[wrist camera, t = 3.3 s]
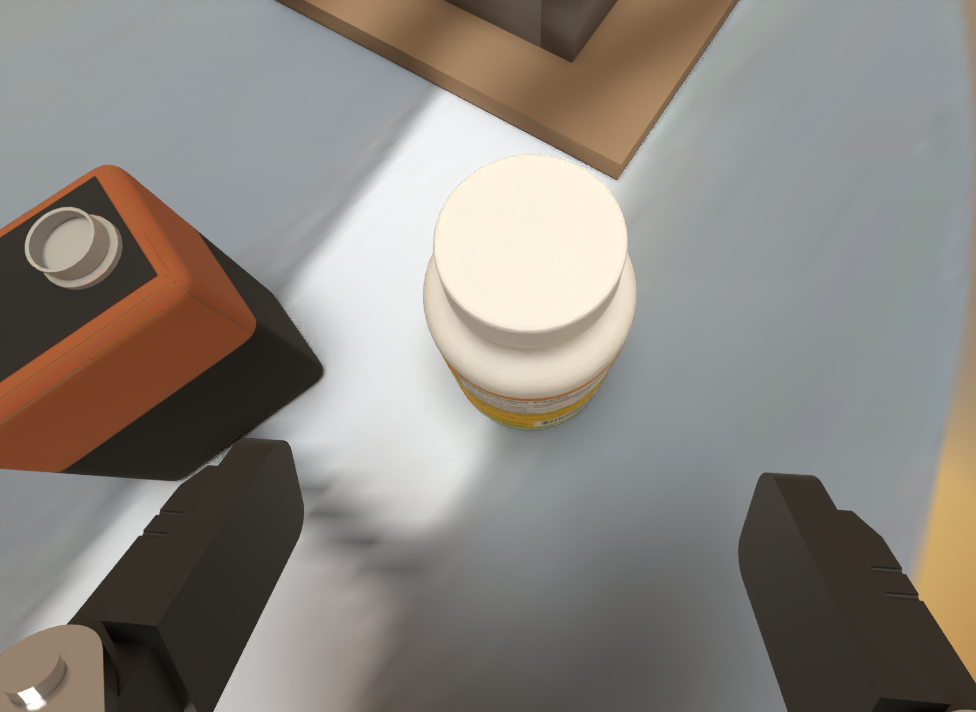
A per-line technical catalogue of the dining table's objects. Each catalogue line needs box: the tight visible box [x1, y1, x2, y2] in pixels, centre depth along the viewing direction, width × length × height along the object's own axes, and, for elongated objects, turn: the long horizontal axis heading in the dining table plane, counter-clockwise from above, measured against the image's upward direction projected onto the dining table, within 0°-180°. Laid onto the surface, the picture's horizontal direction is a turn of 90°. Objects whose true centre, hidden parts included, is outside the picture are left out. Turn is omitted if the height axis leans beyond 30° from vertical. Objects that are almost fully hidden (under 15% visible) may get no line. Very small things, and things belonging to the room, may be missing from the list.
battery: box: [0, 165, 322, 481], centre depth 17 cm, size 4×7×10 cm, turn 127°
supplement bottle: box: [423, 154, 636, 430], centre depth 16 cm, size 5×5×10 cm
